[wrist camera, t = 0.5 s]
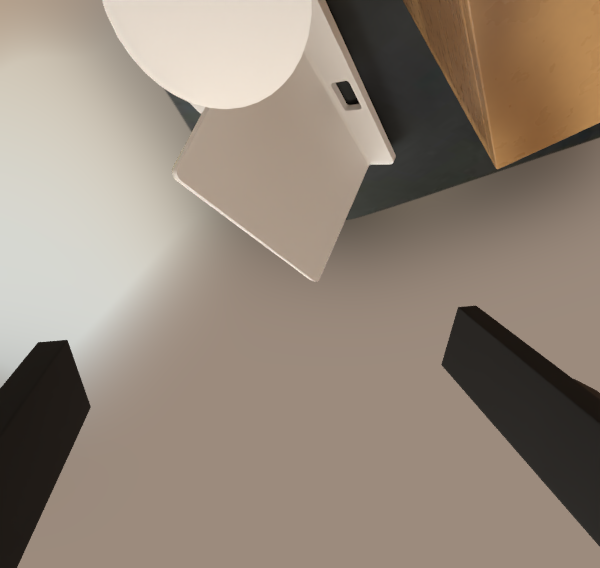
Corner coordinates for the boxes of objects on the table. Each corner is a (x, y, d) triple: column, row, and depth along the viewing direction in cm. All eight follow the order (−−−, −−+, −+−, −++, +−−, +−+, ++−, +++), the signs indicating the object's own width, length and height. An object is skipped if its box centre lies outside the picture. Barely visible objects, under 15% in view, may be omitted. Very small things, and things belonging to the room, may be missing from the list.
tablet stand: (291, 201, 56) (302, 289, 48) (169, 78, 37) (152, 190, 29) (393, 147, 48) (427, 241, 40) (307, -44, 29) (337, 60, 21)
